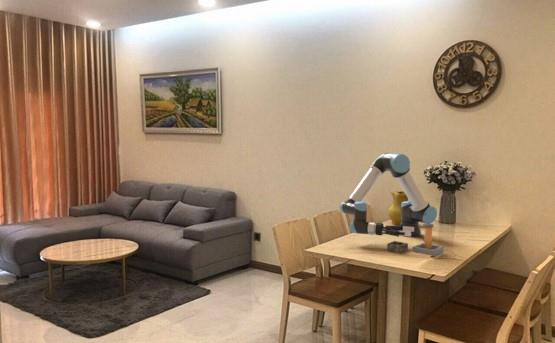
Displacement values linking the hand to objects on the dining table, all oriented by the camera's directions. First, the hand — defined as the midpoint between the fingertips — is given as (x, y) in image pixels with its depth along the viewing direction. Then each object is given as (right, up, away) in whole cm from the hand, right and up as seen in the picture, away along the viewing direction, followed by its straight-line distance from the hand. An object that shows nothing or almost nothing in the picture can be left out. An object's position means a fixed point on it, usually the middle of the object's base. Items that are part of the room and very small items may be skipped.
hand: (412, 231), depth 267 cm
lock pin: (+8, -11, -3) cm, 14 cm away
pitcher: (+16, -5, +85) cm, 86 cm away
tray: (+8, -12, -3) cm, 15 cm away
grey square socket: (-9, -12, -1) cm, 15 cm away
